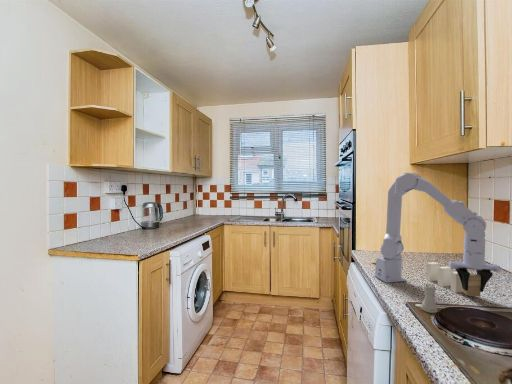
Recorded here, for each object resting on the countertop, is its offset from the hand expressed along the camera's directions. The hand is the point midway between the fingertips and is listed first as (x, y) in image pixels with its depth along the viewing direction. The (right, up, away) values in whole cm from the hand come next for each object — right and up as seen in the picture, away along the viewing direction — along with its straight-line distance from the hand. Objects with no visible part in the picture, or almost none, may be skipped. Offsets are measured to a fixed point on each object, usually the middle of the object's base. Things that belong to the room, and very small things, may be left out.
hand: (472, 290), depth 93 cm
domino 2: (-2, -2, +11) cm, 11 cm away
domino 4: (0, -2, 0) cm, 2 cm away
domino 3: (-1, -2, +6) cm, 6 cm away
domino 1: (-3, -2, +16) cm, 17 cm away
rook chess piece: (-21, -3, -9) cm, 23 cm away
